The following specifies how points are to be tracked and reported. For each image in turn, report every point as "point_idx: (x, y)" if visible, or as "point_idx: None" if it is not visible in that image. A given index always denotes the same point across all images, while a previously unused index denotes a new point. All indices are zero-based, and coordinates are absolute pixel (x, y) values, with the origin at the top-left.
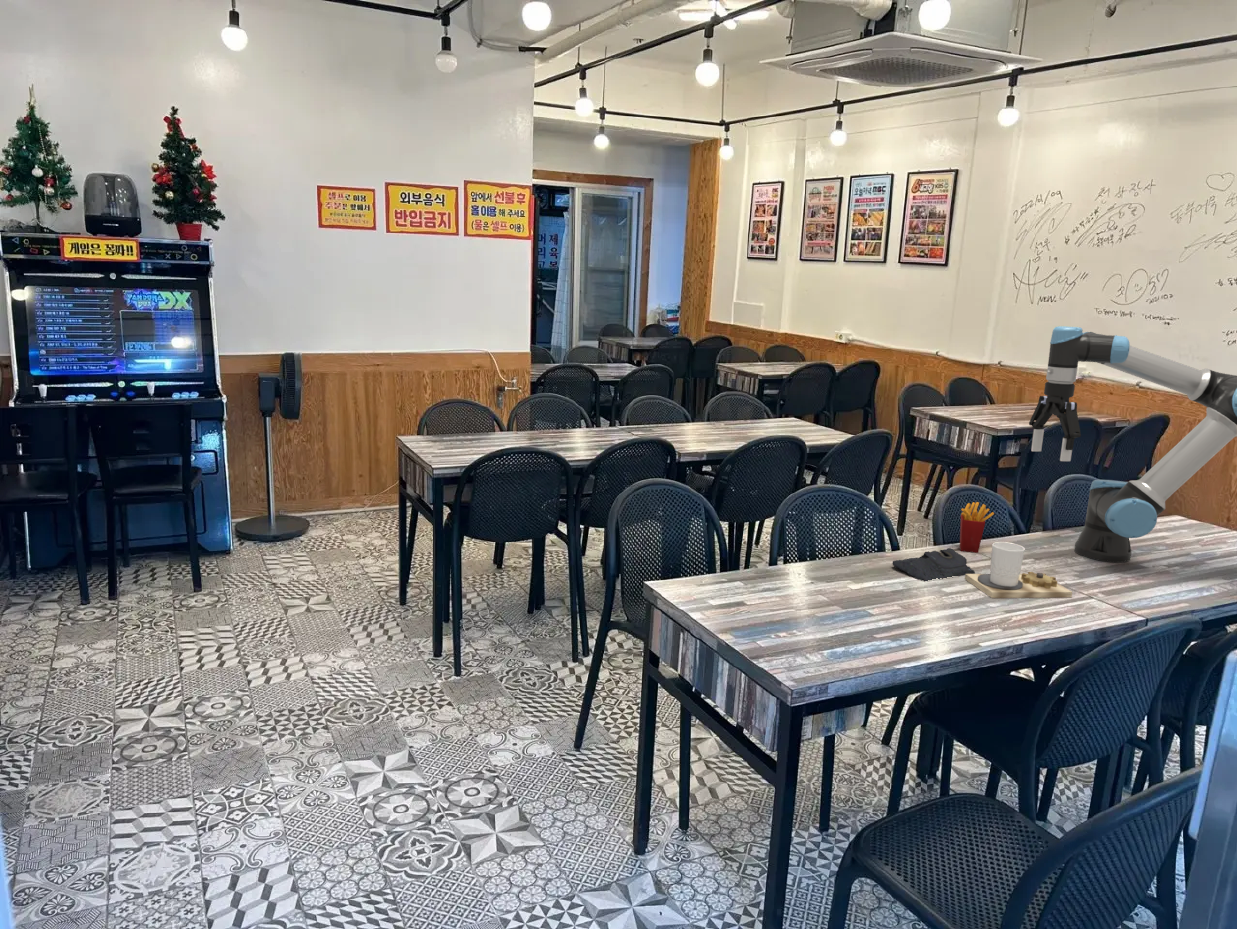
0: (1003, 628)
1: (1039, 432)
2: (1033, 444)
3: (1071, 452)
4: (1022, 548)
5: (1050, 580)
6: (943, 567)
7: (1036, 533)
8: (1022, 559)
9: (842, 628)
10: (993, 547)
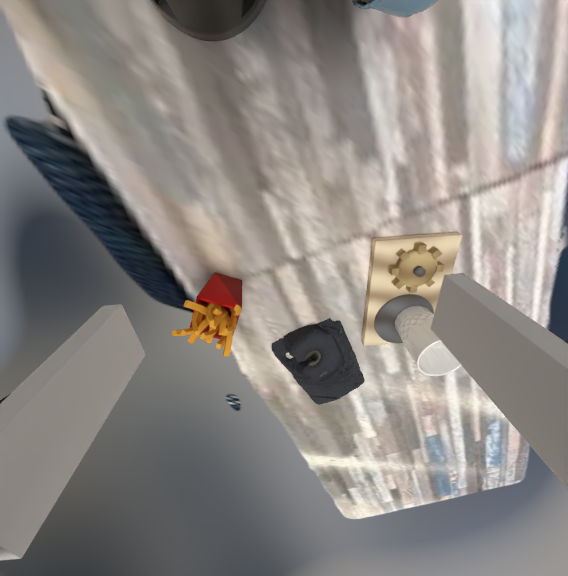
0: None
1: (19, 486)
2: (121, 393)
3: (515, 310)
4: None
5: (434, 260)
6: (342, 363)
7: (30, 56)
8: None
9: (456, 453)
10: (433, 374)
